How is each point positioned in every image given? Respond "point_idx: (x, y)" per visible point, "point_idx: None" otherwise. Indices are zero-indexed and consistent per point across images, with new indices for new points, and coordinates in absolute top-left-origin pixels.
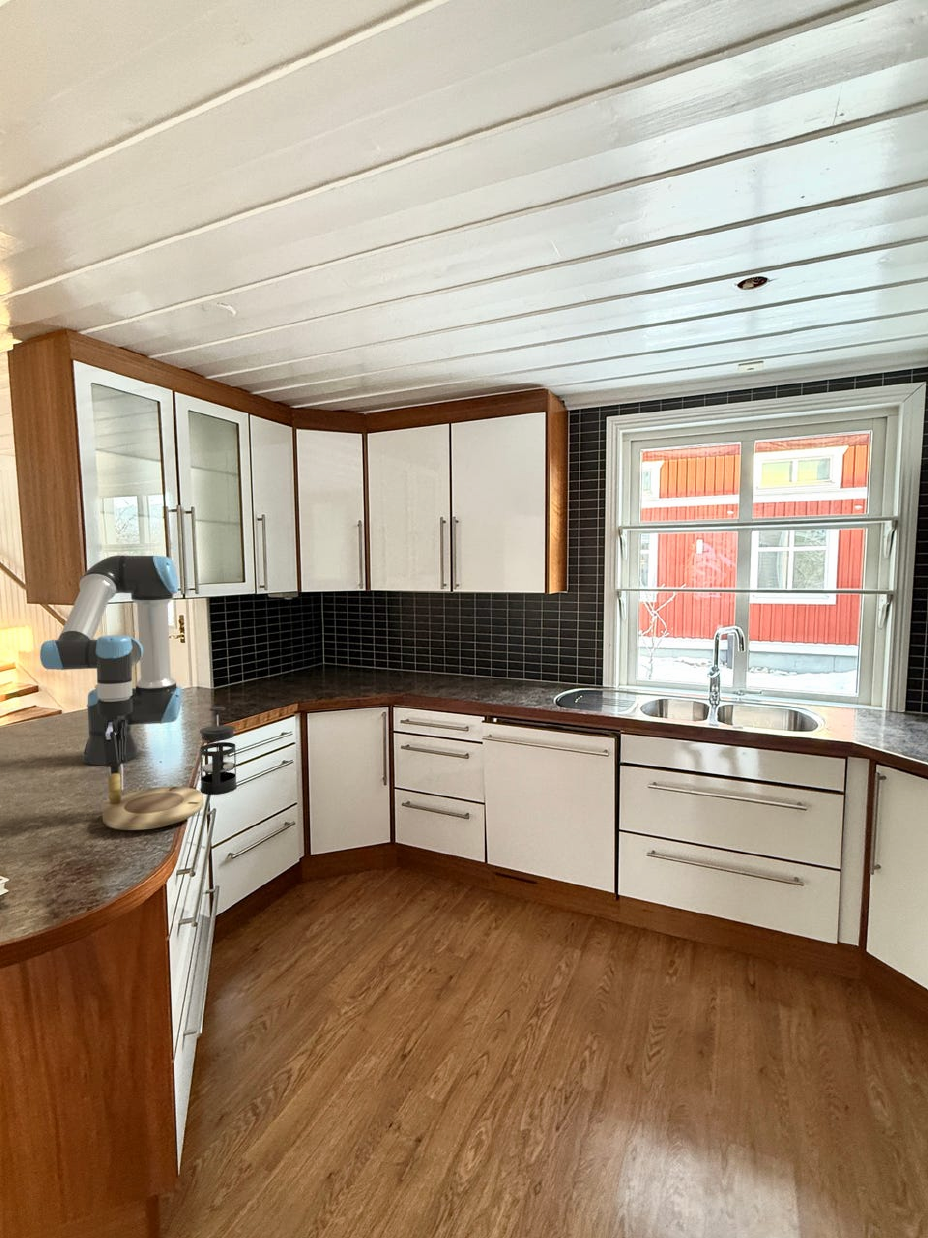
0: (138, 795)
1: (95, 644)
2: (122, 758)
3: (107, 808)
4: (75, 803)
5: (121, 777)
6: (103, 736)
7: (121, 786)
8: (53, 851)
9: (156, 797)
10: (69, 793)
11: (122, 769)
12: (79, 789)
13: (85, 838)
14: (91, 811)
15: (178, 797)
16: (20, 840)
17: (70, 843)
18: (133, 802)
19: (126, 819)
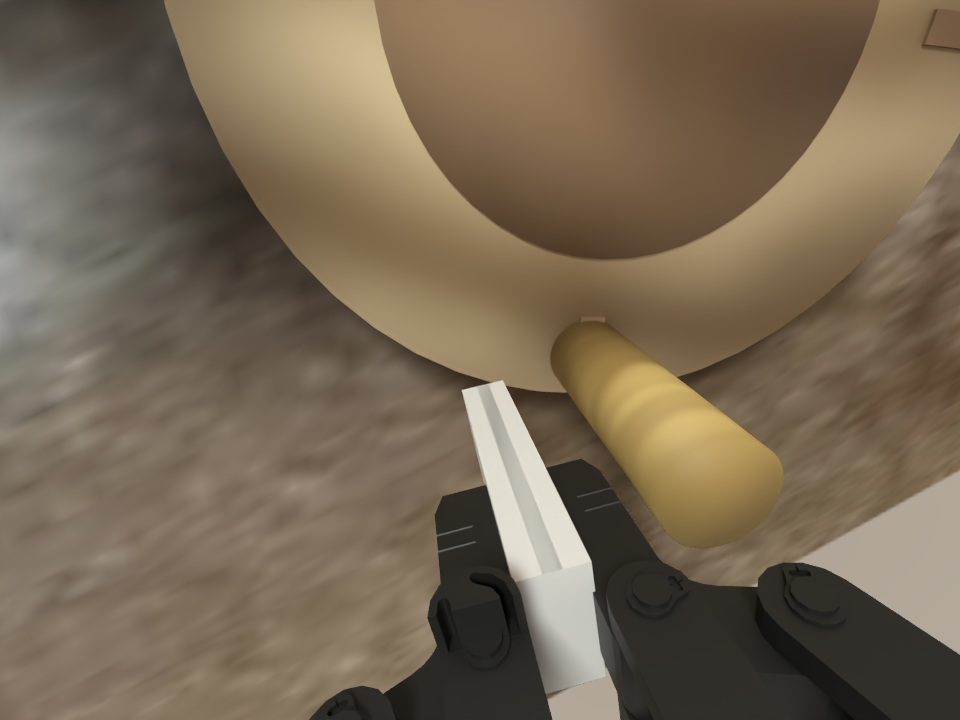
0: (446, 247)
1: None
2: (504, 694)
3: (693, 348)
4: (371, 604)
5: (534, 449)
6: None
7: (510, 401)
8: (925, 381)
9: (515, 26)
10: (239, 697)
11: (517, 516)
12: (172, 693)
13: (833, 320)
14: (480, 480)
15: None
16: (764, 556)
17: (867, 357)
18: (618, 207)
19: (951, 95)
